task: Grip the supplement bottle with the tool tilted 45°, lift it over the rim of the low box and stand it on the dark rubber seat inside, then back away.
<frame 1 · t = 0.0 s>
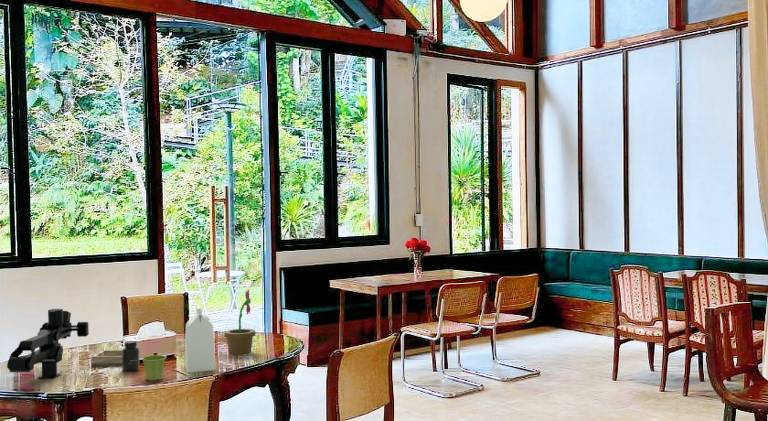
hand: (73, 326, 323), 17 cm above the table, tool horizontal, fingers open, 9 cm apart
supplement bottle: (130, 370, 309), on the table
box: (113, 362, 324), on the table
plant pot: (154, 379, 292), on the table
milk: (199, 368, 310), on the table
flowerpot: (240, 353, 341), on the table
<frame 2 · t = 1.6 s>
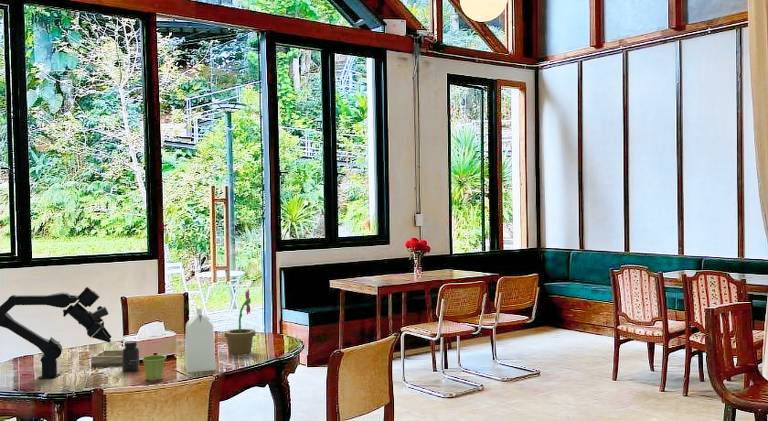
hand: (110, 339, 306), 13 cm above the table, tool tilted 45°, fingers open, 9 cm apart
nothing on the table moved.
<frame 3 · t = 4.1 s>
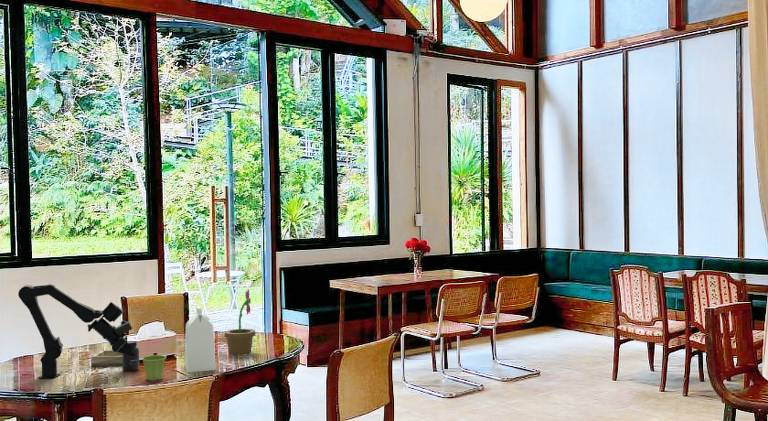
hand: (134, 354, 309), 7 cm above the table, tool tilted 45°, fingers closed on supplement bottle, 7 cm apart
supplement bottle: (130, 370, 309), on the table, touching gripper
everything else where it was.
when the fingers open (9 cm above the table, at t = 8.8 s): supplement bottle stays where it is, resting on box.
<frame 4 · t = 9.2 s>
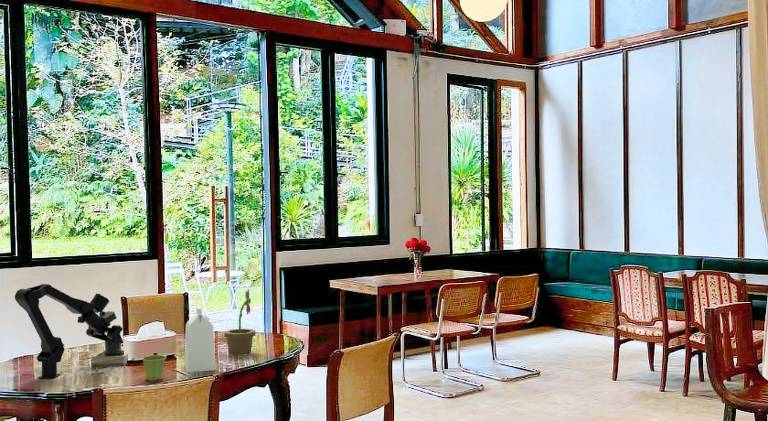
hand: (115, 341, 325), 9 cm above the table, tool tilted 45°, fingers open, 9 cm apart
supplement bottle: (113, 359, 324), point 1 cm above the table, touching box
everything else where it was.
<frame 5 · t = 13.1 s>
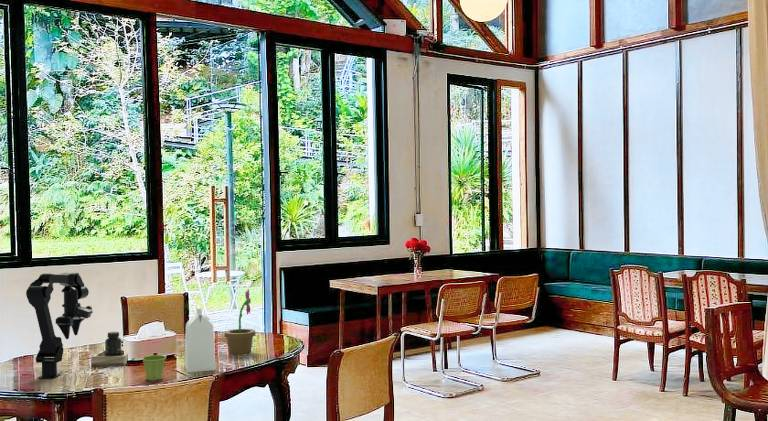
hand: (71, 337, 316), 13 cm above the table, tool pointing down, fingers open, 9 cm apart
nothing on the table moved.
at the end: supplement bottle inside the target area on the box (0.2 cm from its centre), point 1.1 cm above the box's base; supplement bottle tilted 1°; the gripper is holding nothing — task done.
